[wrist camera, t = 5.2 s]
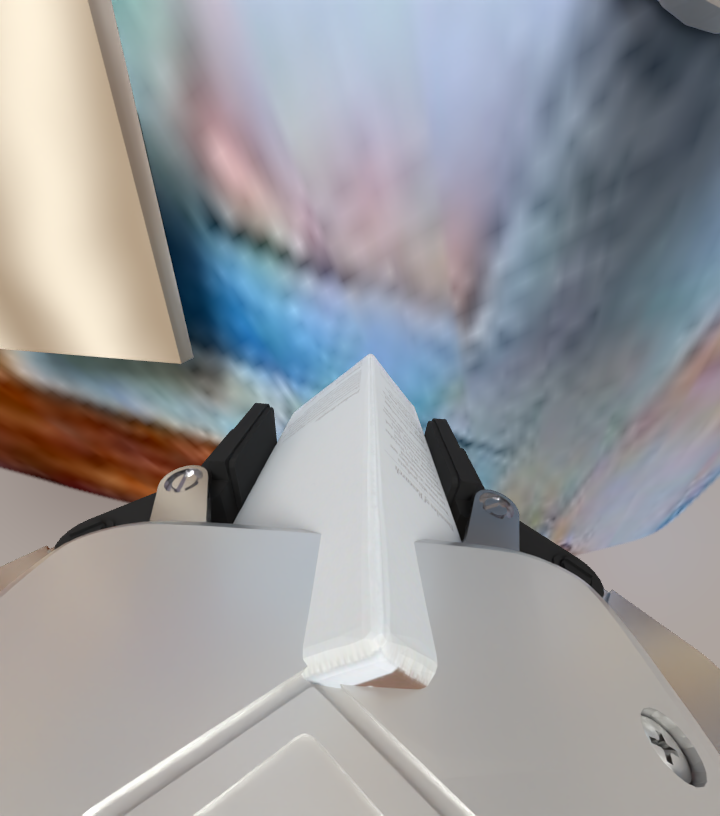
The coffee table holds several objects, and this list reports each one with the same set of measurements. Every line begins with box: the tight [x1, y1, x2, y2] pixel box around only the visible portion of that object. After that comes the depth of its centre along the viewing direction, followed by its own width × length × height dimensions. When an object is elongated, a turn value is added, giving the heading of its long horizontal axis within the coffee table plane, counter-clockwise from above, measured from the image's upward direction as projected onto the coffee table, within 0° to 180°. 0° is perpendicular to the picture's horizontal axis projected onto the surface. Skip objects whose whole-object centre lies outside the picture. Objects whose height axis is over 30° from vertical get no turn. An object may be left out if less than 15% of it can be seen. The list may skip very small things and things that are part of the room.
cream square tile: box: [0, 0, 194, 364], centre depth 11 cm, size 12×12×4 cm
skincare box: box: [233, 354, 462, 689], centre depth 10 cm, size 6×4×12 cm
